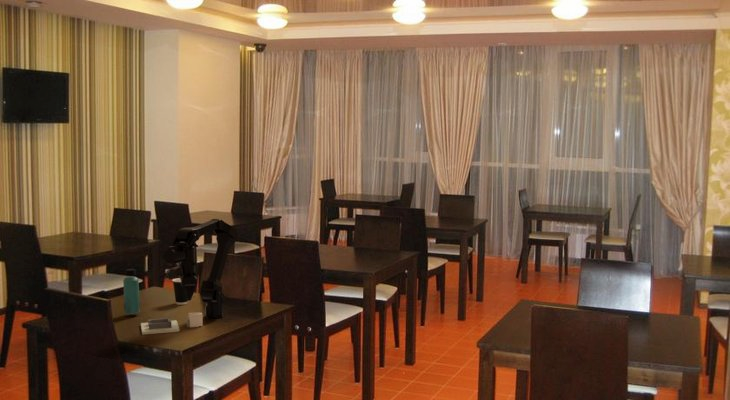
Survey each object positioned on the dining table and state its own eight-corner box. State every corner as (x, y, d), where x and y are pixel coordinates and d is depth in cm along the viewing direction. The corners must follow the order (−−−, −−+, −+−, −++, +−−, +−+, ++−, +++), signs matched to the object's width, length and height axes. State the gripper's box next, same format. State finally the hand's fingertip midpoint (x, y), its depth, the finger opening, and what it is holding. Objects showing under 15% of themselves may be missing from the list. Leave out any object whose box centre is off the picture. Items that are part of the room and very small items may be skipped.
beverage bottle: (143, 315, 320) (141, 269, 318) (128, 318, 315) (127, 271, 313) (135, 312, 324) (133, 267, 322) (121, 315, 319) (119, 269, 317)
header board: (176, 322, 308) (176, 315, 308) (179, 331, 295) (179, 324, 294) (140, 325, 303) (140, 318, 303) (142, 334, 290) (142, 327, 290)
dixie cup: (170, 302, 343) (170, 278, 342) (188, 300, 347) (187, 277, 346) (175, 306, 336) (174, 282, 335) (192, 304, 340) (192, 280, 339)
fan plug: (201, 323, 306) (201, 311, 306) (202, 326, 302) (202, 314, 302) (186, 325, 304) (186, 312, 304) (187, 327, 300) (187, 315, 300)
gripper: (166, 256, 308) (167, 294, 310) (167, 265, 290) (168, 304, 292) (194, 255, 311) (195, 292, 313) (196, 263, 293) (198, 302, 295)
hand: (188, 297), depth 303 cm, fingers open, 9 cm apart
